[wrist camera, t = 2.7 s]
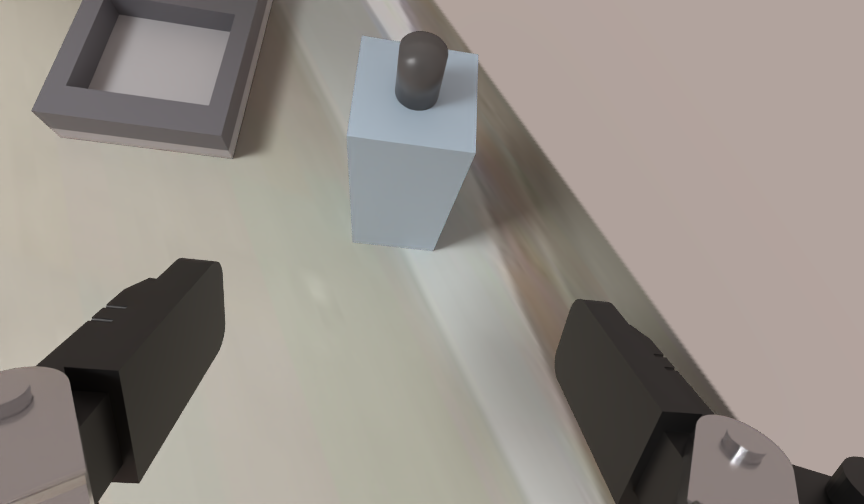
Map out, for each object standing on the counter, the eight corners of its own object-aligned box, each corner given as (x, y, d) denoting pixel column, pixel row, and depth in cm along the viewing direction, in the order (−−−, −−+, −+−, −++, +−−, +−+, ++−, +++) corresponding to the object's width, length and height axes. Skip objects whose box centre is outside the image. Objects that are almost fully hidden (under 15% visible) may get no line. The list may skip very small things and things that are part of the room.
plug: (352, 242, 24) (344, 96, 13) (361, 171, 26) (361, -13, 15) (433, 250, 25) (490, 118, 14) (437, 180, 26) (492, 10, 15)
